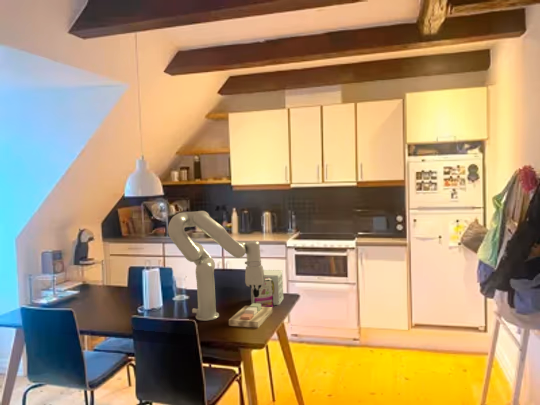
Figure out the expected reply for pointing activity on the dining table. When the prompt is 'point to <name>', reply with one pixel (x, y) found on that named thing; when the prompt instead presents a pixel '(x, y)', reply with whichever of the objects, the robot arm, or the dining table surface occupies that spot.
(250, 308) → the offwhite key
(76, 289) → the dining table surface
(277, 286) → the supplement box
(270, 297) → the candy bar box
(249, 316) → the terracotta key
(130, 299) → the dining table surface
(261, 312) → the keypad base
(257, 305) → the sage key
